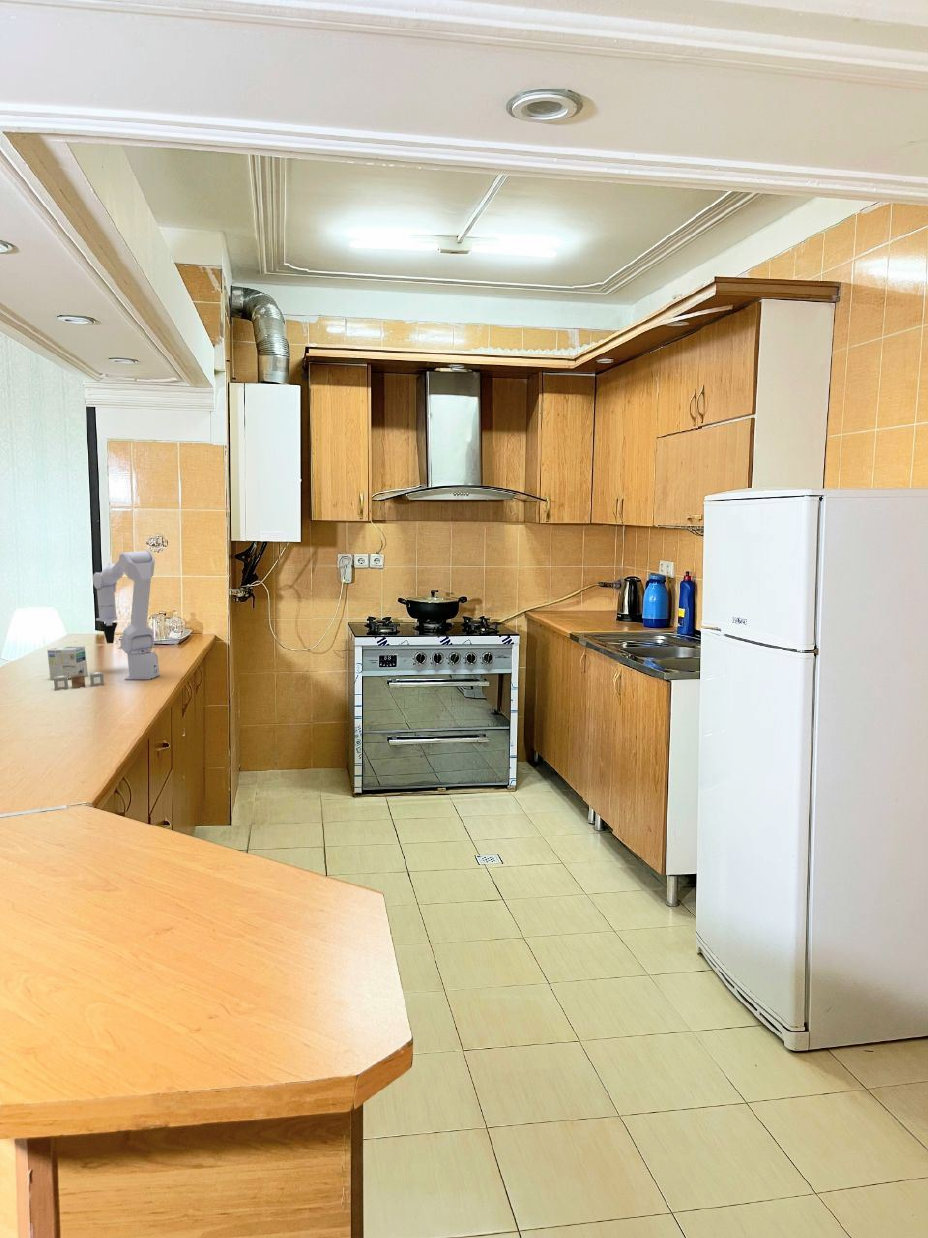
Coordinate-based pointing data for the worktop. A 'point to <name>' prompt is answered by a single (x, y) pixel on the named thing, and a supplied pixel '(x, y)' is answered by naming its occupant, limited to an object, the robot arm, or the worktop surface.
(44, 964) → the worktop surface
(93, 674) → the marked grey block 2
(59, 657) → the light bulb box
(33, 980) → the worktop surface
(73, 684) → the plain walnut block
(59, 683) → the marked grey block 1
